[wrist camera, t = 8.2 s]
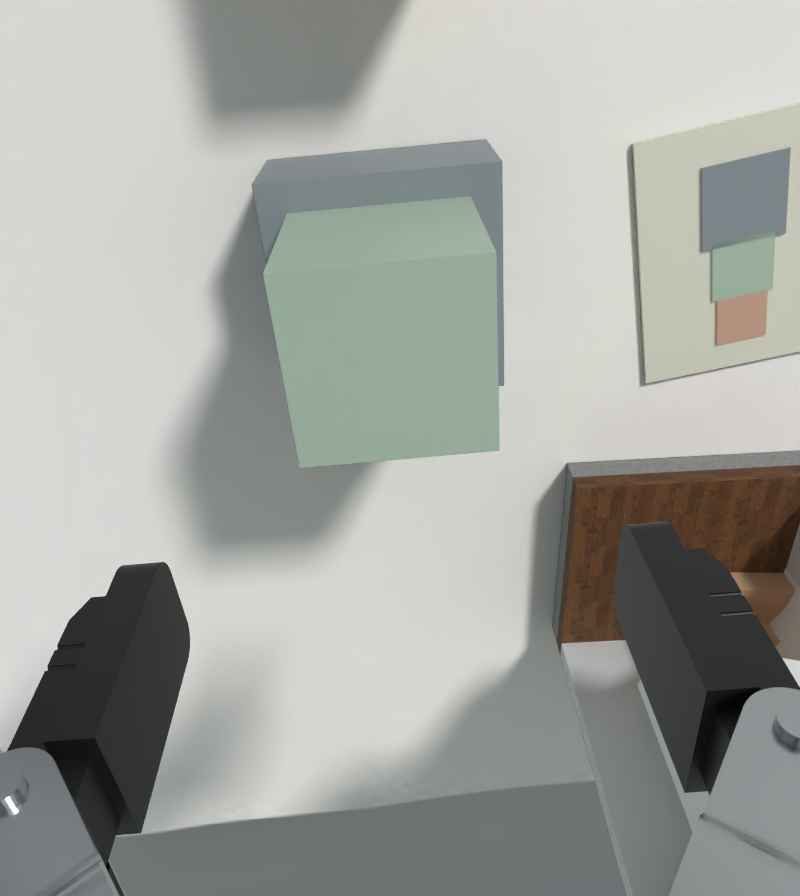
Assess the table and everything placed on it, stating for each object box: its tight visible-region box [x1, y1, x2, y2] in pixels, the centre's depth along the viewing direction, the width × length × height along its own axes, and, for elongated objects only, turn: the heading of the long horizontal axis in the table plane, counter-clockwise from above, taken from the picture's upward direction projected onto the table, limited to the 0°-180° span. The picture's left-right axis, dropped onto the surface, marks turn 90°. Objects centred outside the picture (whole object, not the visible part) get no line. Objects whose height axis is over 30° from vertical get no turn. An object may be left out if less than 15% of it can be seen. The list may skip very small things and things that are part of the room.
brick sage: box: [263, 196, 499, 468], centre depth 23 cm, size 6×6×6 cm
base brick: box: [252, 139, 504, 386], centre depth 27 cm, size 8×8×4 cm
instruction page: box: [632, 103, 800, 384], centre depth 29 cm, size 10×8×1 cm
